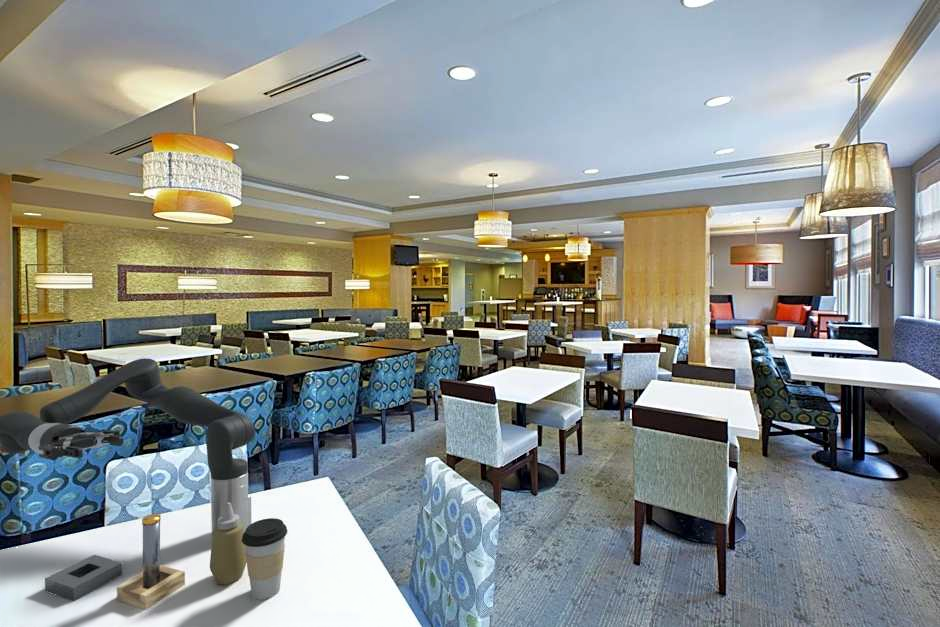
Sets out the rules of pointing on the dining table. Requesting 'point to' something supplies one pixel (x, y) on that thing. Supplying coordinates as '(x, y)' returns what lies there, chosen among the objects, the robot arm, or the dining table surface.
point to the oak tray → (146, 598)
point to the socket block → (83, 577)
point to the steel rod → (151, 550)
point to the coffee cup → (265, 556)
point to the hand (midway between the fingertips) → (101, 447)
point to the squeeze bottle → (228, 548)
